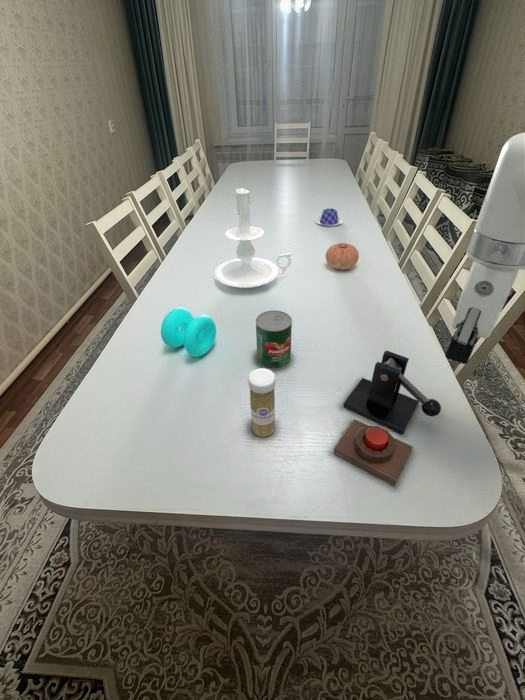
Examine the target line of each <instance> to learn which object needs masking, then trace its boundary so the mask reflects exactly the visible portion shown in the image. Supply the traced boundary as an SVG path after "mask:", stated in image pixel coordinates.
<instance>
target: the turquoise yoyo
mask: <svg viewBox="0 0 525 700" xmlns="http://www.w3.org/2000/svg"><path fill="white" fill-rule="evenodd" d="M216 336H217V326H216V322H215V320H214V319H213V318H212V317H211V316H209V315H205V314H202V315H198V316H195V317H194V316H193V314H192V313H191V311H190V310H189V309H187V308H185V307H181V306H180V307H179V306H178V307H174V308H172V309H171V310H170V311H169V312H167V313H166V315H165V316H164V318H163V319H162V323H161V326H160V337H161V340H162V341H163V344H165V345H166V346H168V347H169V348H172V349H173V348H174V349H175V348H180V347H182V346H183V347H184V350H185V351H186V353H187V354H189V355H190V356H192V357H196V358H197V357H198V358H199V357H201V356H202V357H203V356H204V355H206V354H207V353H208V352H209V351H210V349H212V347H213V345H214V343H215V339H216Z"/></svg>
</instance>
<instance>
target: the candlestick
mask: <svg viewBox="0 0 525 700" xmlns="http://www.w3.org/2000/svg"><path fill="white" fill-rule="evenodd" d="M250 198H251V197H250V190H248V189H246V188H244V187H240V188H236V189H235V201H236V208H237V215H238V225H239V226H234V227H232V228H229V229H228V230H226V231H225V232H224V234H225V237H227V238H228V239H231V240H235V241H238V245H237V247H236V250H235V254H236V256H237V258H235V259H231V260H228V261H227V260H226V261H224V262H223V263H221V264H220V265H218V266H217V267H216V268H215V269H214V271H213V276H214V278H215V279H216V280H217V282H219V283H221V284H223V285H225V286H228V287H233V288H237V289H253V288H258V287H260V286H264V285H266V284H269V283H271V282H272V281H274V280H275V279H277V278H278V276H279V275H283V274H285V272H286V270H287V268H289V267H290V265H291V263H292V261H291V256H293V252H289V253H282V254H281V253H280V254H279V255H278V256H277V257H276V260H275V263H276V264H275V263H274V262H272V261H270V260H267V259H263V258H259V257H255V254H256V249H255V247H254V245H253V244H252V242H251V241H252V240H255V239H259V238H260V237H262V236H264V233H265V231H264V229H262V228H261V227H258V226H253V225H251V199H250ZM281 258H287V260H288V262H287V263H286V264H284V265H281V264H280V263H279V260H280V259H281ZM280 269H282V271H280Z"/></svg>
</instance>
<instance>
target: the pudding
mask: <svg viewBox="0 0 525 700" xmlns="http://www.w3.org/2000/svg"><path fill="white" fill-rule="evenodd" d="M338 215H339V214H338V210H337V209H336V208H324V209H323V210H322V213H321V216H320V217H319V216H318V217H317V218H315V220H314V222H315V223H316V224H318V225H321V226H328V227H331V226H332V227H334V226H338V225H342V224H343V223H344V220H343V219H342V218H340V217H339V216H338Z"/></svg>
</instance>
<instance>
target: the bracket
mask: <svg viewBox="0 0 525 700" xmlns="http://www.w3.org/2000/svg"><path fill="white" fill-rule="evenodd" d="M389 358H392V359H394V360H395V361H396V362H397V363H398V364H399V365H400V366H401V367H402V369H401V370H398V369H396V368H393V367H391V366H388V365H385V364H383V363H384V362H385V361H387V360H388V359H389ZM409 360H410V358H409V357H406V356H404V355H400V354H397V353H395V352H392V351H389V350H387V349H386V350H385V351H383V354H382V358H381V362H380V361H376V362H375V364H374V369H373V373H372V376H371V380H369V379H367V378H364V377H362V378H361V379H360V380H359V381H358V383H357V384H356V385H355V387H354V388H353V390H352V391H351V393H349V395H348V396H347V398H346V399H345V401H344V402H343V408H344V409H347V410H349V411H350V412H353V413H355V414H357V415H360V416H361V417H364V418H366V419H369V420H370V421H372V422H375V423H377V424H379V425H381V426H383V427H384V428H387V429H390V430H392V431H394V432H395V433H398V434H400V435H403V434H404V432H405V431H406V428H407V427H408V425H409V423H410V421H411V420H412V418H413V414H414V413H415V411H416V409H417V407H418V405H419V403H420V402H419V401H418V400H417V399H416V398H414V397H410V396H408V395H406V394H403V393H401V392H400V390H401V387H402V385H401V384H400V383H399V382H398V381H399V377H400V374H402V375H403V376H404V377H405V374H406V369H407V366H408V365H409Z"/></svg>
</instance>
